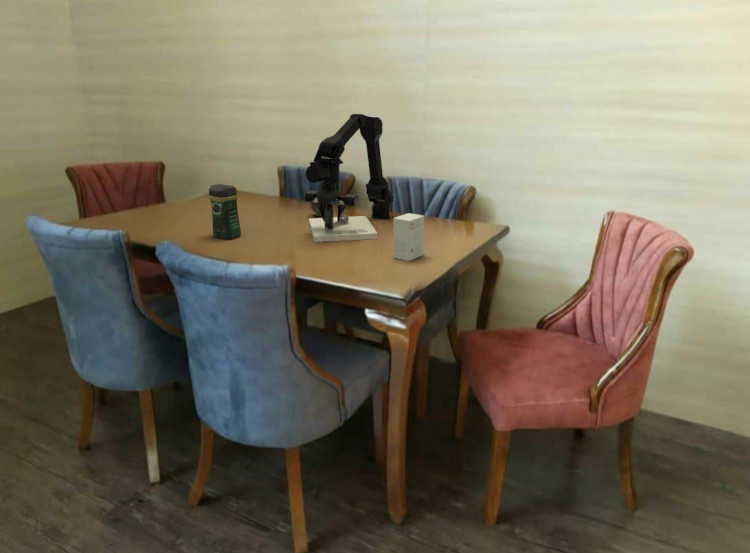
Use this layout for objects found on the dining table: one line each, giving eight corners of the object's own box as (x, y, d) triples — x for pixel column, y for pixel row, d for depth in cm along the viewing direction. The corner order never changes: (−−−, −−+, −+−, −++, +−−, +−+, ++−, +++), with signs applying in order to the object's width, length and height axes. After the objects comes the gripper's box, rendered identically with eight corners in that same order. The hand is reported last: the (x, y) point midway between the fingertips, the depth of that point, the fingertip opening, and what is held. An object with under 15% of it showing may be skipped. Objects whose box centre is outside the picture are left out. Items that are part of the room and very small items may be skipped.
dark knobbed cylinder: (341, 219, 215) (340, 196, 212) (350, 221, 213) (350, 197, 210) (321, 228, 203) (320, 204, 200) (331, 230, 201) (330, 205, 198)
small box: (408, 251, 187) (408, 212, 182) (423, 255, 183) (424, 215, 178) (392, 257, 181) (392, 217, 176) (408, 261, 177) (409, 220, 172)
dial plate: (365, 220, 224) (365, 215, 223) (377, 238, 201) (377, 232, 200) (309, 223, 220) (308, 218, 219) (314, 242, 197) (314, 236, 196)
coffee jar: (245, 235, 205) (240, 184, 198) (228, 241, 199) (223, 188, 192) (226, 231, 210) (221, 181, 204) (209, 236, 204) (203, 185, 198)
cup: (330, 213, 235) (329, 194, 232) (326, 218, 228) (326, 198, 225) (312, 213, 235) (311, 194, 232) (308, 218, 228) (307, 198, 226)
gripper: (296, 180, 193) (298, 225, 198) (349, 185, 188) (349, 230, 194) (309, 174, 203) (310, 217, 208) (359, 178, 198) (359, 222, 204)
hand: (331, 221), depth 203 cm, fingers open, 5 cm apart
